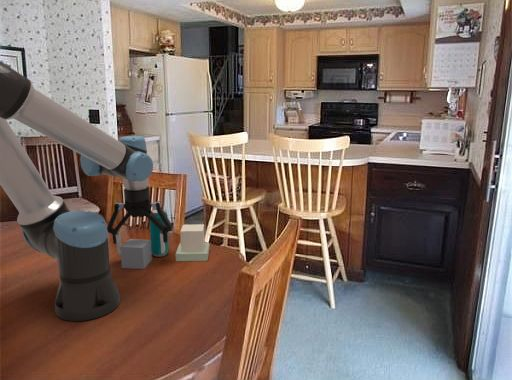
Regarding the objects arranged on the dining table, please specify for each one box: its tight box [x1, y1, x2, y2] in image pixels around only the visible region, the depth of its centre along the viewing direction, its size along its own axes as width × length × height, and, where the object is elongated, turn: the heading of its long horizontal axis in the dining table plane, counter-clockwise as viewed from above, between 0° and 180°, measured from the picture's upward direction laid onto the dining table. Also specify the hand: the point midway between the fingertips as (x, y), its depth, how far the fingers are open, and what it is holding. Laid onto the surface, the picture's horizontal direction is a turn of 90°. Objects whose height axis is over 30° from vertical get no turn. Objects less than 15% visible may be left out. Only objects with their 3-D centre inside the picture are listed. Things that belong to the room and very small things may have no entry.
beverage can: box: [149, 208, 170, 258], centre depth 138 cm, size 6×6×15 cm
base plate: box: [175, 242, 210, 262], centre depth 139 cm, size 10×10×2 cm
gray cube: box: [120, 238, 153, 270], centre depth 131 cm, size 7×7×7 cm
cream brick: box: [180, 223, 206, 252], centre depth 138 cm, size 7×7×7 cm
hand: (141, 252), depth 133 cm, fingers open, 13 cm apart
